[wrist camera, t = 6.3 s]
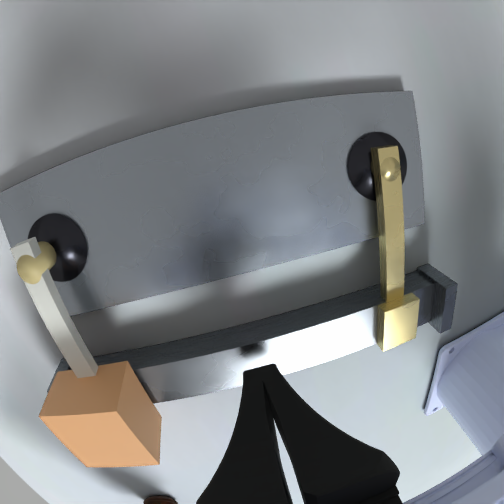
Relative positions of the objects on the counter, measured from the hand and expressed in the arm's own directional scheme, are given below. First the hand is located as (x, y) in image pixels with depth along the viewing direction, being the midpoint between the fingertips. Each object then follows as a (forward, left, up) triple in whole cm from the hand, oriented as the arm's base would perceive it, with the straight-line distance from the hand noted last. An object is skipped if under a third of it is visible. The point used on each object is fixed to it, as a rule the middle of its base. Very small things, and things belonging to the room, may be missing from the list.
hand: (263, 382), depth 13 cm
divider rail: (0, -3, -3) cm, 4 cm away
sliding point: (+8, -3, -2) cm, 8 cm away
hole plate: (0, -7, -3) cm, 8 cm away
